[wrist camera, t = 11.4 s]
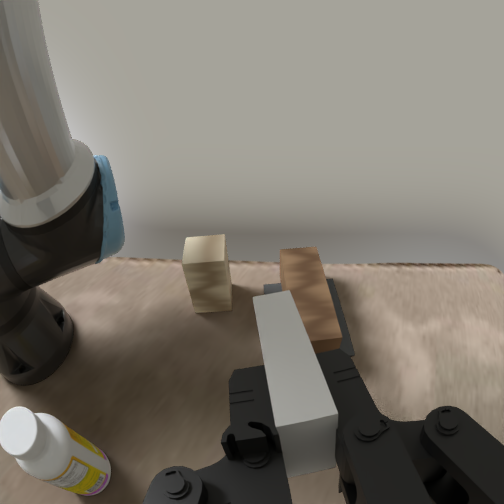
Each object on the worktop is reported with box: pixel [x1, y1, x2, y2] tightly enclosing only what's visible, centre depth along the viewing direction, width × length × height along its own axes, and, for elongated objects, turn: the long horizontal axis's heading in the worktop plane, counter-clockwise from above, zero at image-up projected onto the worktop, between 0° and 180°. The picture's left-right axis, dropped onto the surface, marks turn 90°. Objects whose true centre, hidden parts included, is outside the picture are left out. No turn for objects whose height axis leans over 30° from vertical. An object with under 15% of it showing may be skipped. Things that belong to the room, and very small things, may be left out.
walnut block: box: [280, 247, 342, 354], centre depth 40 cm, size 5×5×15 cm
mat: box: [264, 279, 355, 356], centre depth 41 cm, size 10×13×1 cm
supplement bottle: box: [0, 407, 111, 496], centre depth 22 cm, size 7×7×13 cm
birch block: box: [182, 234, 232, 313], centre depth 42 cm, size 5×5×9 cm
